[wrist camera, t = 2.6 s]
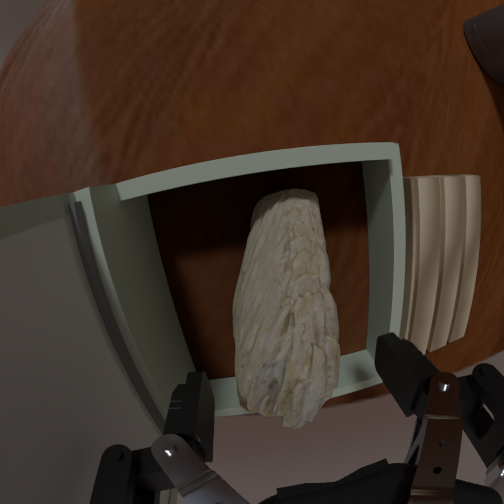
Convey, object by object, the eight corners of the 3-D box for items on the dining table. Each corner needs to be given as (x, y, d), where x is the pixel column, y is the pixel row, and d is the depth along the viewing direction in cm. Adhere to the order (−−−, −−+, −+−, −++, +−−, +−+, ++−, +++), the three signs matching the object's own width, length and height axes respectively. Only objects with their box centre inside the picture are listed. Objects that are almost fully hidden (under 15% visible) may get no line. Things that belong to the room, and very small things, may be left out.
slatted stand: (467, 174, 19) (481, 175, 17) (455, 326, 24) (465, 335, 22) (400, 177, 19) (414, 178, 17) (394, 351, 23) (404, 362, 21)
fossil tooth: (326, 196, 20) (293, 366, 23) (245, 183, 19) (223, 363, 22) (426, 198, 9) (337, 463, 12) (279, 160, 8) (230, 472, 11)
